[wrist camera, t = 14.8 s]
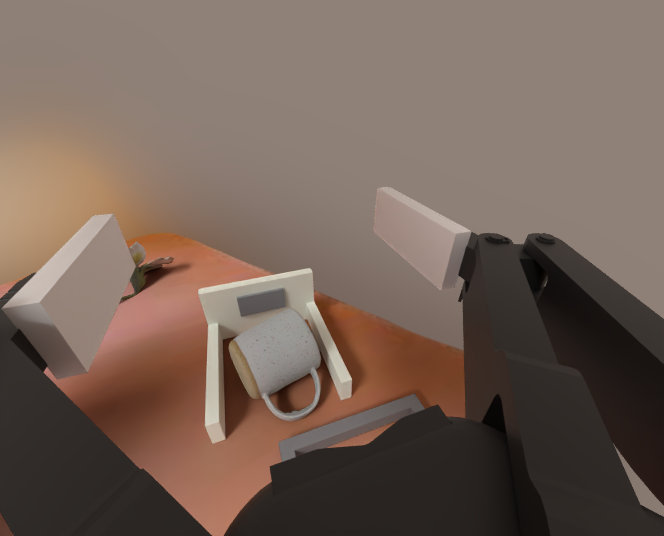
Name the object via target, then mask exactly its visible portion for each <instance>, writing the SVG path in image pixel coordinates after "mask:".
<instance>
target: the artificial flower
mask: <svg viewBox="0 0 664 536" xmlns="http://www.w3.org/2000/svg"><path fill="white" fill-rule="evenodd" d="M128 249H129V251H130V254H131V256H132V258H133V261H134V263H135V266H136V267H135V269H134V272H133V274H132V276H131V278H130V282H131V283H132V286H133V288H134V291H135V293H134V294H132V295H128V296H124V297H122V298H121V300H125V299H129V298H131V297H133V296H135V295H137V294H138V293H139V291H140V289H141V288H142V287H143V286H144V284H145V281H146V280H145V278H144V273H145V272H147V271H149V270H152V269H156V268H159V267H162V266H163V265H162V264H169V263H171V262H172V261H173V259H174V258H172V257H167V258H165V259H164V258H158V259H156V260H154V261H152V262H150V263H146V264H144V265H142V266H141V267H138V266H139V265H140V264H141V263H142V262H143V261H144V259H145V256H146V253H145V249H144V248H143V247H142V245H140V244H139V243H138V242H136V243H135V244H133V245H132V246H131V247H130V248H128ZM121 300H120V301H121Z"/></svg>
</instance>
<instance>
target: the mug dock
mask: <svg viewBox="0 0 664 536" xmlns="http://www.w3.org/2000/svg"><path fill="white" fill-rule="evenodd" d="M198 295H199V298H200V301H201V304H202V307H203V311H204V314H205V317H206V320H207V323H208V346H207V376H206V406H205V428H206V430H207V432H208V435H209V437H210V439H211V441H212V444H213V443H216V442H219V441H222V440H225V439H226V434H225V400H224V365H223V339H227V338H231V337H236V336H239V335H240V334H241V333H243V332H245V331H247V330H249V329H251V328H253V327H255V326H257V325H258V324H260V323H262V322H264V321H266V320H268V319H270V318H272V317H274V316H275V315H277V314H279V313H281V312H283V311H284V310H286V309H290V308H291V309H293V310H295V311H296V312H298V313H299V314H300V315H301V316H302V318H303V319H304V320H306V319H307V320H308V322H309V324H310V327H311V329H312V332H313V334H314V336H315V339H316V341H317V344H318V346H319V349H320V351H321V353H322V356H323V358H324V361H325V363H326V365H327V368H328V370H329V373H330V375H331V377H332V380H333V382H334V385H335V387H336V389H337V392H338V394H339V397H340V399H341V400H344V399H347V398H350V397H351V392H352V378H351V376H350V374H349V372H348V370H347V368H346V366H345V364H344V362H343V360H342V358H341V356H340V354H339V352H338V350H337V348H336V345H335V343H334V341H333V339H332V337H331V335H330V333H329V331H328V329H327V327H326V325H325V323H324V321H323V319H322V317H321V315H320V312H319V310H318V308H317V306H316V304H315V302H314V289H313V273H312V270H311V269H310V268H308V269H303V270H297V271H292V272H286V273H281V274H276V275H270V276H265V277H260V278H255V279H249V280H244V281H239V282H233V283H228V284H223V285H217V286H212V287H207V288H202V289H199V293H198Z"/></svg>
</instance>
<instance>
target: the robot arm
mask: <svg viewBox="0 0 664 536" xmlns="http://www.w3.org/2000/svg"><path fill="white" fill-rule="evenodd" d="M373 232H374V233H375V234H377V235H378V236H379V237H380V238H381V239H382V240H383V241H385V242H386V243H387V244H388V245H389V246H390V247H391V248H393V249H394V250H395V251H396V252H397V253H398V254H399V255H401V256H402V257H403V258H404V259H405V260H406V261H408V262H409V263H410V264H411V265H412V266H413V267H414V268H415V269H417V270H418V271H419V272H420V273H421V274H422V275H424V276H425V277H426V278H427V279H428V280H429V281H430V282H432V283H433V284H434V285H435V286H436V287H437V288H438V289H440V290H441V291H442V290H446V289H450V288H455V286H456V283H457V279H458V276H460V277H461V278H463V279H464V280H465V281H464V284H463V287H462V290H461V294H460V297H459V300H458V301H459V302H461V300H462V299H463V333H464V372H465V410H466V414H465V418H460V417H446V415H445V414H444V412H443V411H442V410H441V408H440V407H439V405H435V406H432V407H429V408H427V409H424V410H421V411H419V412H416V413H413V414H410V415H408V416H405V417H402V418H401V419H400V420H398V421H397V422H396V423H395V424H393V425H392V426H391V427H389V428H388V429H387V430H386V431H384V432H383V433H382V434H381V435H379V436H378V437H377V438H375V439H374V440H373V441H372V442H370V443H369V444H366V445H362V446H349V447H337V448H324V449H316V450H313V451H310V452H308V453H305V454H302V455H300V456H297V457H294V458H291V459H289V460H286V461H283V462H281V463H278V464H275V465H273V466H270V472H271V479H272V482H271V483H269V484H268V485H267V486H265V487H264V488H263V489H261V490H260V491H259V492H258V493H257V494H256V495H255V496H254V497H253V498H252V499H250V501H249V502H248V503H247V504H246V505H245V506H244V507H243V509H242V510H241V511H240V512H239V513H238V515H237V516H236V518H235V519H234V520H233V522H232V523H231V524H230V526H229V528H228V529H227V531H226V533H225V534H224V536H664V517H663V516H661V515H659V514H657V513H655V512H653V511H651V510H649V509H648V508H646V507H644V506H642V505H640V503H639V501H638V498H637V496H636V494H635V492H634V489H633V487H632V485H631V483H630V480H629V478H628V476H627V474H626V472H625V469H624V467H623V465H622V462H621V460H620V458H619V456H618V454H617V452H616V449H615V447H614V445H615V446H616V448H617V449H618V450H619V452H620V453H621V455H622V456H623V457H624V459H625V460H626V461H627V463H628V464H629V465H630V467H631V468H632V469H633V471H634V472H635V473H636V474H637V475H638V476H639V478H640V479H641V480H642V481H643V482H644V484H645V485H646V486H647V487H648V488H649V490H650V491H651V492H652V493H653V494H654V495H655V497H656V498H657V499H658V500H659V501H660V502H661V503H662V504H663V505H664V319H663V318H662V317H660V316H659V315H658V314H656V313H655V312H654V311H653V310H651V309H650V308H649V307H647V306H646V305H645V304H643V303H642V302H641V301H640V300H638V299H637V298H636V297H634V296H633V295H632V294H631V293H629V292H628V291H627V290H625V289H624V288H623V287H621V286H620V285H619V284H618V283H616V282H615V281H614V280H612V279H611V278H610V277H609V276H607V275H606V274H605V273H603V272H602V271H601V270H599V269H598V268H597V267H596V266H594V265H593V264H592V263H590V262H589V261H588V260H587V259H585V258H584V257H582V256H581V255H580V254H579V253H577V252H576V251H575V250H574V249H572V248H571V247H570V246H568V245H567V244H566V243H565V242H563V241H562V240H560V239H558V238H556V237H553V236H552V235H549V234H545V233H543V234H539V233H538V234H537V233H535V234H529V235H528V236H527V238H526V241H525V243H524V244H521V245H520V244H513V242H512V241H511V240H510V239H509V238H507V237H504V236H502V235H499V234H494V233H492V234H491V233H484V234H480V235H477V234H475V233H473V232H471V231H470V230H468V229H466V228H465V227H463V226H461V225H459V224H457V223H455V222H453V221H451V220H450V219H448V218H446V217H444V216H442V215H440V214H438V213H437V212H435V211H433V210H431V209H429V208H427V207H426V206H424V205H422V204H420V203H418V202H416V201H414V200H412V199H411V198H409V197H407V196H405V195H403V194H401V193H399V192H398V191H396V190H394V189H392V188H390V187H382V188H377V198H376V208H375V219H374V230H373ZM135 267H136V266H135V263H134V261H133V258H132V256H131V254H130V251H129V249H128V247H127V244H126V242H125V239H124V237H123V235H122V232H121V230H120V228H119V225H118V223H117V221H116V218H115V216H114V214H106V215H96V216H93V217H92V218H91V219H90V220H89V221H88V222H87V223H86V224H85V225H84V226H83V227H82V228H81V229H80V230H79V231H78V232H77V233H76V234H75V235H74V236H73V237H72V238H71V239H70V240H69V241H68V242H67V243H66V244H65V245H64V246H63V247H62V248H61V249H60V250H59V251H58V252H57V253H56V254H55V255H54V256H53V257H52V258H51V259H50V260H49V261H48V262H47V263H46V264H45V265H44V266H43V267H42V268H41V269H40V270H39V271H38V272H37V273H33V274H31V275H29V276H27V277H26V278H24V279H22V280H20V281H19V282H17V283H16V284H15V285H14V286H13V287H12V288H11V289H10V290H9V291H8V293H6V294H5V295H4V296H3V297H2V298H1V299H0V512H1V514H2V516H3V517H4V519H5V521H6V523H7V525H8V526H9V528H10V530H11V532H12V533H13V535H14V536H212V535H211V534H210V533H209V532H208V531H207V530H206V529H205V528H204V527H203V526H202V525H201V524H200V523H199V522H198V521H196V520H195V519H194V518H193V517H192V516H191V515H190V514H189V513H188V512H187V511H186V510H185V509H184V508H183V507H182V506H181V505H180V504H179V503H178V502H177V501H176V500H175V499H174V498H173V497H172V496H171V495H170V494H169V493H168V492H167V491H166V490H165V489H164V488H163V487H162V486H161V485H160V484H159V483H158V482H157V481H156V480H155V479H154V478H153V477H152V476H151V475H150V474H149V473H148V472H147V471H145V470H144V469H140V468H138V467H137V466H136V465H135V464H134V463H133V462H132V461H131V460H130V459H129V458H128V457H127V456H126V455H125V454H124V453H123V452H122V451H121V450H120V449H119V448H118V447H117V446H116V445H115V444H114V443H113V442H112V441H111V440H110V439H109V438H108V437H107V436H106V435H105V434H104V433H103V432H102V431H101V430H100V429H99V428H98V427H97V426H96V425H95V424H94V423H93V422H92V421H91V420H90V419H89V418H88V417H87V416H86V415H85V414H84V413H83V412H82V411H81V410H80V409H79V408H78V407H77V406H76V405H75V404H74V403H73V402H72V401H71V400H70V399H69V398H68V397H67V396H66V395H65V394H64V393H63V392H62V391H61V390H60V389H59V388H58V387H57V386H56V385H55V384H54V383H53V382H52V381H51V380H50V379H49V378H48V377H47V376H46V375H45V374H44V373H43V372H44V370H45V369H46V367H48V368H49V370H50V371H51V372H52V373H53V375H54V376H55V377H56V379H57V380H58V379H62V378H66V377H70V376H75V375H79V374H83V373H88V371H89V368H90V366H91V364H92V362H93V360H94V357H95V355H96V353H97V351H98V349H99V346H100V344H101V342H102V340H103V338H104V335H105V333H106V331H107V329H108V327H109V324H110V322H111V320H112V318H113V316H114V313H115V311H116V309H117V307H118V305H119V302H120V300H121V298H122V296H123V294H124V291H125V289H126V287H127V285H128V283H129V280H130V278H131V276H132V274H133V272H134V269H135ZM547 280H548V281H547ZM546 282H547V284H546ZM545 284H546V286H544V285H545ZM613 443H614V445H613Z"/></svg>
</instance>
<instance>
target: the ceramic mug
mask: <svg viewBox="0 0 664 536" xmlns="http://www.w3.org/2000/svg"><path fill="white" fill-rule="evenodd" d="M229 352H230V355H231V358H232V361H233V363H234V366H235V368H236V370H237V372H238V375H239V377H240V379H241V381H242V383H243V385H244V387H245V389H246V390H247V392H248V394H249V395H250V396H251V398H253V399H261V398H263V399H264V400H265V402H266V405H267V407H268V408H269V409H270V410H271V412H272V413H273V414H274V415H275V416H277V417H278V418H280V419H282V420H286V421H296V420H299V419H302V418H304V417H305V416H307V415H308V414H309V413H311V412H312V410H313V409H314V408H315V407H316V405H317V403H318V401H319V397H320V391H321V390H320V389H321V387H320V380H319V377H318V374H317V371H316V369H317V368H319V366H320V362H321V357H320V352H319V348H318V345H317V342H316V340H315V338H314V335H313V333H312V331H311V330H310V328H309V326H308V325H307V323H306V322H305V320H304V319H303V318H302V316H301V315H300V314H299V313H298V312H296V311H295V310H293V309H291V308H290V309H286V310H284V311H283V312H281V313H279V314H277V315H275V316H274V317H272V318H270V319H268V320H266V321H264V322H262V323H260V324H258V325H257V326H255V327H253V328H251V329H249V330H247V331H245V332H243V333H241V334H240V335H239V336H237V337H236V338H234V339H233V340H232V341H231V342H230V344H229ZM309 373H311V375H312V377H313V380H314V383H315V389H316V394H315V398H314V401H313V403H312V404H311V405H309V406H308V407H306V408H304V409H302V410H300V411H292V412H291V413H283V412H282V411H280V410H279V409H277V408H276V407H275V406H274V404H273V403H272V402H271V400H270V398H269V396H270V395H272V394H273V393H275V392H277V391H279V390H280V389H281V388H283V387H285V386H287V385H288V384H290V383H292V382H294V381H296V380H298V379H300V378H302V377H304V376H306V375H307V374H309Z"/></svg>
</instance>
